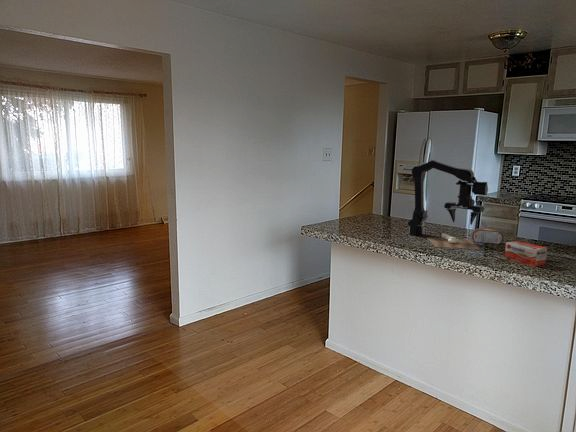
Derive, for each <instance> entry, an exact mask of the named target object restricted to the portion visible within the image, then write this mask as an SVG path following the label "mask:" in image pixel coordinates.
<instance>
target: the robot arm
mask: <svg viewBox="0 0 576 432" xmlns="http://www.w3.org/2000/svg"><path fill="white" fill-rule="evenodd" d="M432 169H433V170H434V169H435V170H437V171H441V172H443V173H446V174H449V175H453V176H454V177H456V178H457V179H459V180H458V181H457V182H456V183H455V185H456V186H459V191H458V195H457V198H458V201H457V203H456V202H452V201H448V202H445V203H444V204H443V207H444V209H446V211H447V212H448V213H449V216H450V217H451V220H452V222H453V223H455V222H456V211H457V209H463V210H469V211H471V212H470V218H469V219H470V221H469V224H470V225H471V226H472V225H473V223H474V221H475V219H476V217H477V215H478V214H482V213H484V211H485V207H484V206H483V205H479V204H476V205H475V203H476V200H475V199H473V198H472V197H473V196H472V193H473V195H474V196H477V195H478V196H487V195H488V194H489V193H488V192H489V188H488V181H478V180H477V179H476V177H475V173H474V171H473V170H472V169H469V168H460V167H455V166H452V165H449V164H446V163H443V162H440V161H437V160H435V159H433V160H432V159H431V160H429V161H427V162H424V163H423V164H421V165H416V166H414V167H412V169H411V176H412V179H413V182H414V210H413V213H412V219H410V220H409V221H408V222H407V225H408V235H410V236H417V237H418V236H422V235H423V228H422V226H423V224H424V223H425V222H426V221H427V218H428V210H425V208H424V207H425V206H424V182H425V177H426V173H427V172H429V171H431V170H432Z"/></svg>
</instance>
